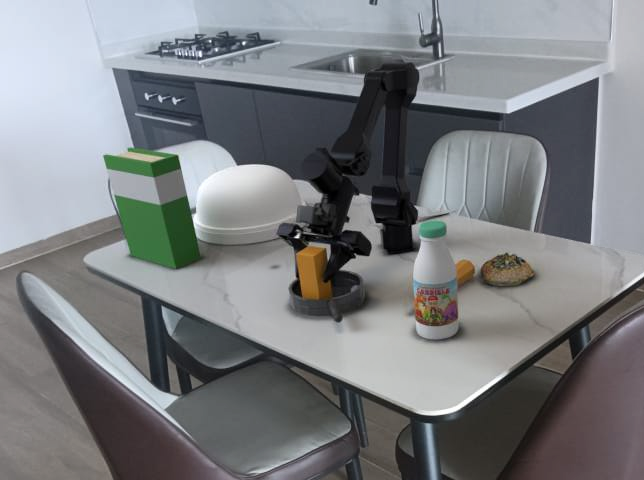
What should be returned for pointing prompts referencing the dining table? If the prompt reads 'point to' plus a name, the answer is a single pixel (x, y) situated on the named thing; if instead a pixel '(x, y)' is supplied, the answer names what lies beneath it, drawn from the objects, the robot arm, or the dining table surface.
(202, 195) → the dome cover
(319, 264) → the cheese
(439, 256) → the milk bottle
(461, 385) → the dining table surface
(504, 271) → the bread roll
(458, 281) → the carrot
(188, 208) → the hardback book
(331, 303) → the pan handle
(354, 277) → the pan
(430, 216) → the fork
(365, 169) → the robot arm
